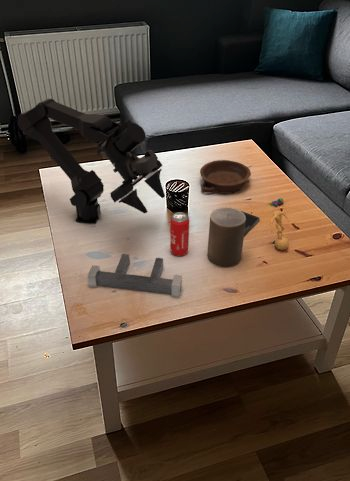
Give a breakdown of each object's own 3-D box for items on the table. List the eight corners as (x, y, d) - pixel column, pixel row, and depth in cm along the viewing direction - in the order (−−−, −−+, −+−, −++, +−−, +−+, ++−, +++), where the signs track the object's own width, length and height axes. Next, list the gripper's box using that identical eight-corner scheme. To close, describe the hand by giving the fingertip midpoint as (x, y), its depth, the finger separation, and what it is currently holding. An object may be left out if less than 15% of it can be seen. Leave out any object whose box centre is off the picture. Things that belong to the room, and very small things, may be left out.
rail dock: (89, 286, 126) (87, 275, 124) (101, 259, 135) (100, 248, 133) (179, 297, 123) (179, 286, 121) (185, 269, 132) (186, 258, 130)
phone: (214, 232, 145) (239, 210, 154) (214, 235, 145) (238, 212, 155) (237, 241, 141) (261, 218, 151) (237, 244, 142) (260, 221, 151)
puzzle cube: (277, 201, 161) (278, 195, 159) (282, 205, 159) (283, 199, 157) (267, 204, 159) (268, 198, 158) (272, 209, 157) (273, 202, 156)
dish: (262, 180, 171) (264, 168, 168) (225, 205, 158) (226, 192, 155) (223, 164, 181) (224, 152, 178) (185, 187, 167) (185, 174, 164)
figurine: (278, 257, 136) (284, 223, 129) (260, 248, 139) (265, 214, 132) (294, 245, 141) (301, 211, 134) (277, 236, 144) (282, 202, 137)
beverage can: (186, 258, 136) (187, 223, 129) (168, 255, 137) (168, 221, 129) (189, 247, 140) (190, 212, 133) (172, 244, 141) (172, 210, 133)
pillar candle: (231, 271, 131) (237, 227, 122) (200, 259, 135) (203, 215, 126) (247, 253, 138) (252, 209, 129) (217, 242, 142) (220, 199, 133)
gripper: (118, 159, 119) (155, 210, 122) (157, 132, 132) (190, 178, 135) (94, 178, 127) (130, 225, 130) (133, 150, 140) (165, 193, 143)
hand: (155, 204), depth 134 cm, fingers open, 9 cm apart
